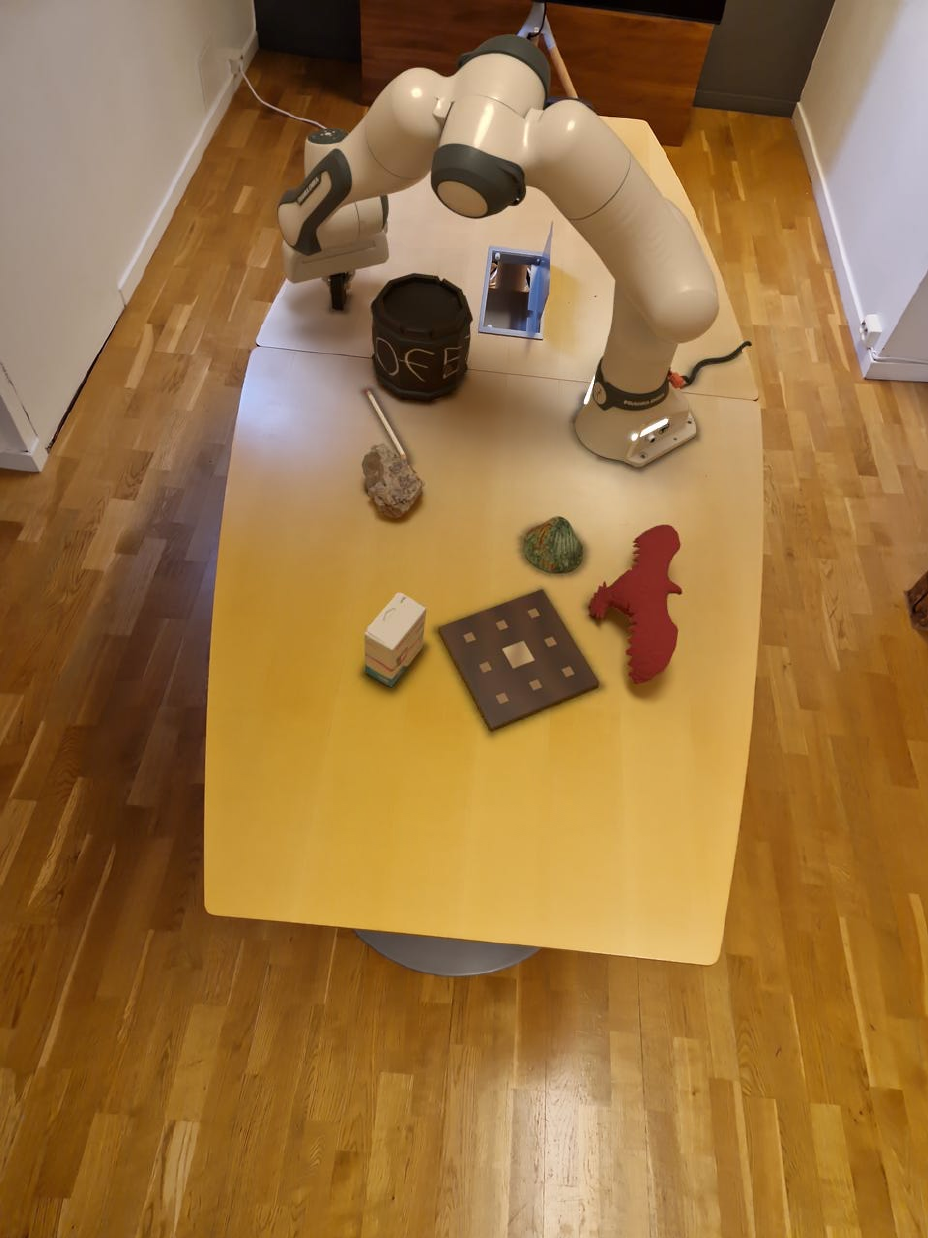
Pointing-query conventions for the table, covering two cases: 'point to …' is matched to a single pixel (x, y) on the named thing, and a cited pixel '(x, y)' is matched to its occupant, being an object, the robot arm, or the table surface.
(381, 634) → the ink box
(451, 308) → the wooden barrel
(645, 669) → the decorative bird sculpture
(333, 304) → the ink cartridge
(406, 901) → the table surface
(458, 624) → the board
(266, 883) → the table surface
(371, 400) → the pencil
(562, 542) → the seashell
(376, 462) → the rock
